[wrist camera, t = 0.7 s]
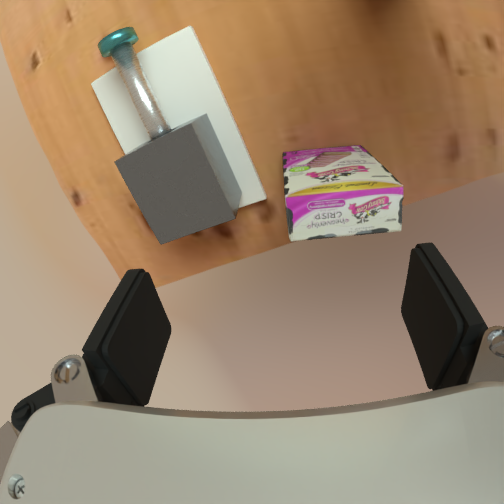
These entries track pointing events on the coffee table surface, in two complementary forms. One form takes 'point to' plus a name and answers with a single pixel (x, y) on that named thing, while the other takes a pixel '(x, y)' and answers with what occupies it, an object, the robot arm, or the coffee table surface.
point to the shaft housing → (182, 181)
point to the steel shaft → (135, 80)
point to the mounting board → (180, 103)
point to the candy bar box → (339, 194)
